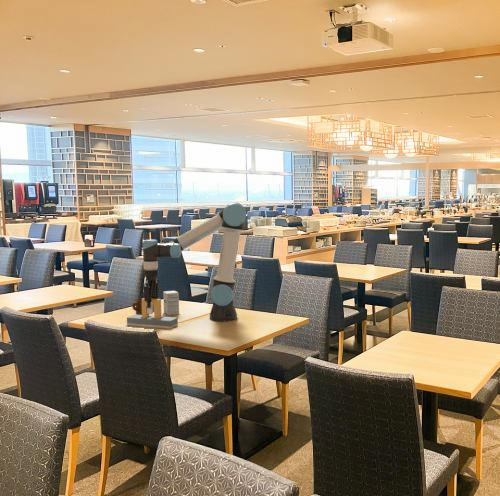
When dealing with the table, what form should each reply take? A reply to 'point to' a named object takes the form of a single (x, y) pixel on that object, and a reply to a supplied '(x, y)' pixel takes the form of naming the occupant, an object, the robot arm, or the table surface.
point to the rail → (152, 321)
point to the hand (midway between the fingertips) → (151, 312)
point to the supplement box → (171, 302)
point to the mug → (138, 306)
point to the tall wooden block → (157, 308)
